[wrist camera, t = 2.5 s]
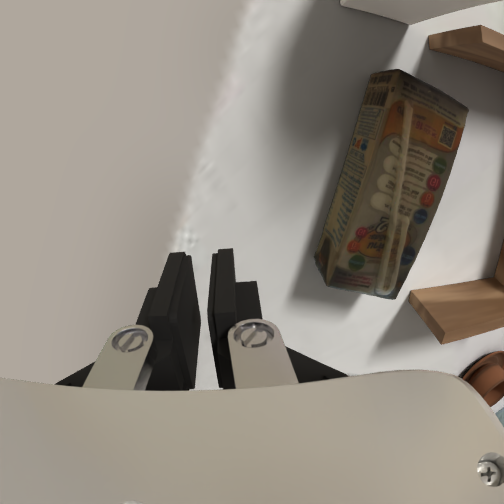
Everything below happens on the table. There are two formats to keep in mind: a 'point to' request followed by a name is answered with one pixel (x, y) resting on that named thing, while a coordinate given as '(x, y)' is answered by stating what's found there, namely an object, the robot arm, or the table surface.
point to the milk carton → (412, 8)
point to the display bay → (500, 286)
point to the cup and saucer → (488, 377)
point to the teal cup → (500, 416)
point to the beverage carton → (389, 184)
